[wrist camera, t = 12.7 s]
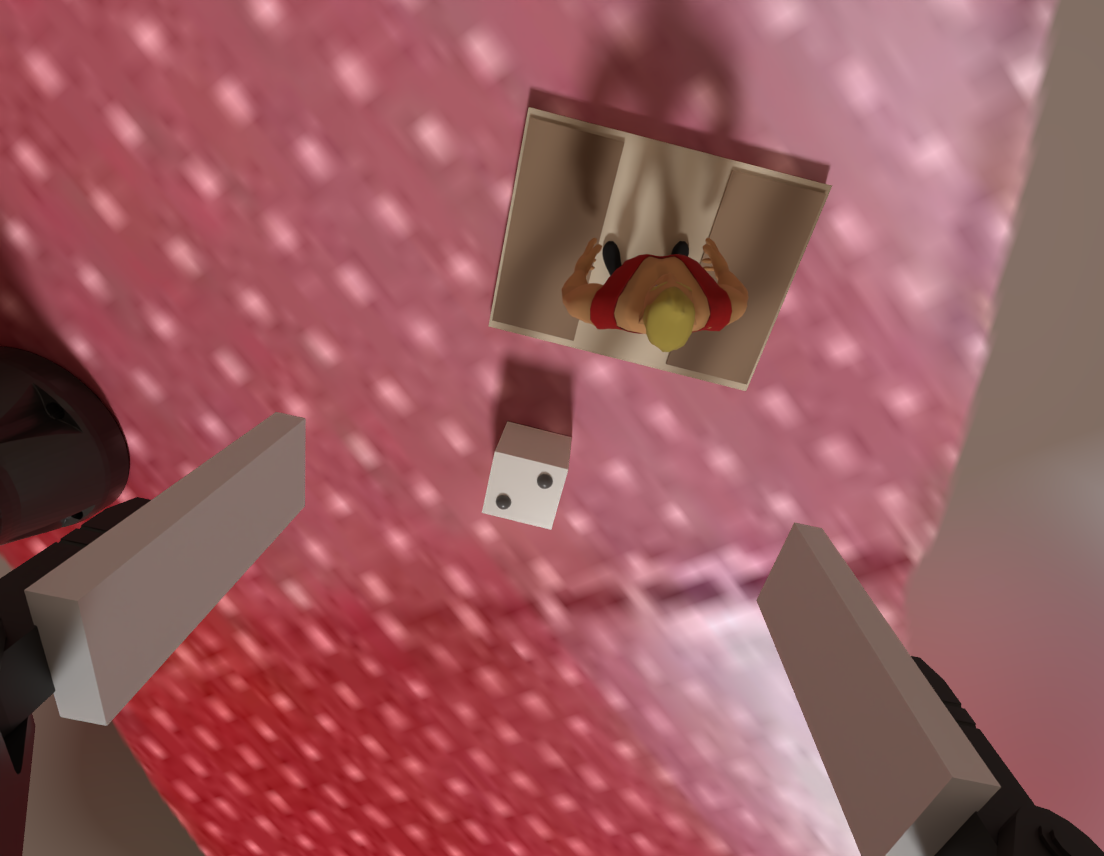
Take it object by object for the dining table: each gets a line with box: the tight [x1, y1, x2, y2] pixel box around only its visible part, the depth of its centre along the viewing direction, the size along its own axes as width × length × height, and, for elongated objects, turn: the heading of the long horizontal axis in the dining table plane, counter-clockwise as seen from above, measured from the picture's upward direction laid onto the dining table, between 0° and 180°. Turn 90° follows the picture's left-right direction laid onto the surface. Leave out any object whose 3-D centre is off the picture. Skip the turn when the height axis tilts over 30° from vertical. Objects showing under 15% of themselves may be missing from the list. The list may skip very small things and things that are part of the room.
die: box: [482, 421, 572, 530], centre depth 38 cm, size 5×5×6 cm
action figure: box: [562, 238, 748, 352], centre depth 26 cm, size 10×4×15 cm, turn 90°
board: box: [489, 107, 832, 391], centre depth 33 cm, size 18×13×1 cm
